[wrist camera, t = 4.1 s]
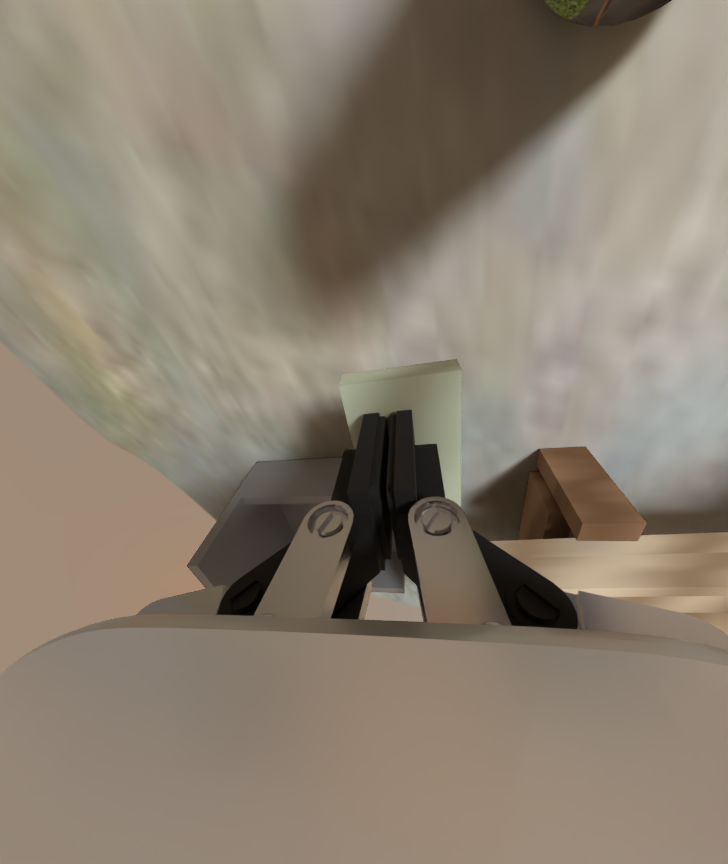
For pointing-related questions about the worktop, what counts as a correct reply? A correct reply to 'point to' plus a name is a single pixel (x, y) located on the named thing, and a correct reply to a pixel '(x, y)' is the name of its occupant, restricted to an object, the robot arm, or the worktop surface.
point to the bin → (273, 522)
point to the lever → (566, 557)
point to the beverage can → (603, 10)
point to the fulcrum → (576, 500)
